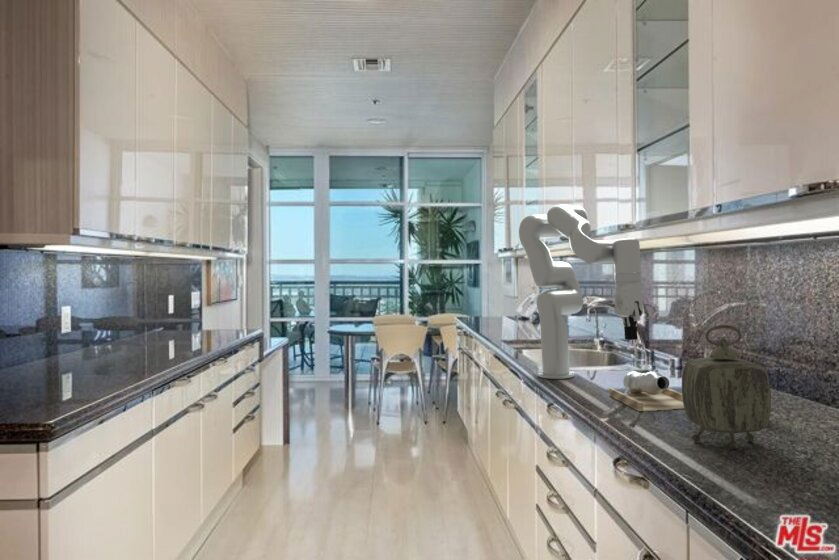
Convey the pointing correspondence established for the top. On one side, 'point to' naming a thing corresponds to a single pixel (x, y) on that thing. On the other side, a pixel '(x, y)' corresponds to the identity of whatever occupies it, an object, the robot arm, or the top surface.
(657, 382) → the plastic bottle
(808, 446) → the top surface
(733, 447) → the tabletop clock
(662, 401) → the wooden tray
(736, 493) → the top surface
